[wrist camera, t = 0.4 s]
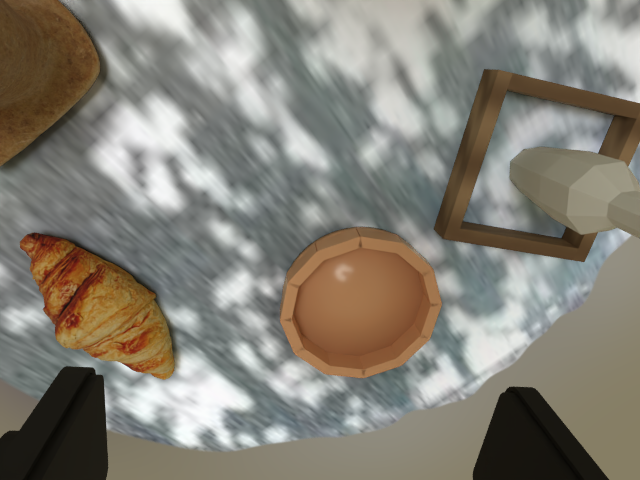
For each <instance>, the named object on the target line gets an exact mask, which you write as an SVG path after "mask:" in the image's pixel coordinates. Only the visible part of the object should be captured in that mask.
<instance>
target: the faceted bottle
mask: <svg viewBox="0 0 640 480" xmlns="http://www.w3.org/2000/svg"><path fill="white" fill-rule="evenodd" d="M510 180H511V181H512V182H513V183H514V184H515V186H516V187H517V188H518V189H519V190H520V191H521V192H522V193H523V194H524V195H526V196H527V197H528V198H529V199H530V200H532V201H533V202H534V203H535V204H536V205H537V206H539V207H540V208H541V209H542V210H543V211H545V212H546V213H547V214H548V215H549V216H550V217H552V218H553V219H554V220H556V221H558V222H560V223H562V224H563V225H565V226H567V227H569V228H570V229H572V230H574V231H576V232H577V233H579V234H581V235H582V234H589V233H596V232H603V231H609V230H612V229H615V228H619V229H621V230H623V231H625V232H627V233H629V234H631V235H633V236H636V237H638V238H640V188H639V183H638V181H637V179H636V178H635V176H634V175H633V174H632V172H631V171H630V169H629V168H628V166H627V165H626V163H625V162H624V161H621V160H618V159H614V158H611V157H607V156H604V155H600V154H597V153H593V152H589V151H578V150H568V149H558V148H548V147H536V148H529V149H524V150H523V151H522V152H520V153H519V154H518V155H517V156H516V157H515V158H514V159H513V160H512V161H510Z"/></svg>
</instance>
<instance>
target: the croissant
mask: <svg viewBox="0 0 640 480" xmlns="http://www.w3.org/2000/svg"><path fill="white" fill-rule="evenodd" d="M20 248H21V249H22V250H24V251H25V252H26V253H27V255H28V256H29V257H30V258H31V259H32V261H31V267H30V271H31V272H32V274H33V279H35V281H36V283H37V285H38V286H39V291H40V292H41V293H42V294H43V296H44V303H45V307H44V308H43V310H44V312H45V314H46V315H47V316H48V317H49V318H50V319H51V320H52V323H53V324H55V326H56V327H55V335H56V339H57V341H58V342H59V343H60V344H61V345H62V346H63V347H65V348H68V347H70V348H72V349H81V348H83V349H84V351H86V352H87V353H89V354H90V355H91V356H92V357H95V358H99V359H100V360H106V361H118V362H121V363H123V364H124V365H126V366H127V367H129V368H130V369H132V370H134V371H136V372H142V373H151V374H152V375H153V376H154V377H157V378H160V379H164V380H165V379H168V378H169V377H170V376H171V375H172V374H173V371H174V366H175V363H174V357H173V352H172V341H171V337H170V335H169V329H168V327H167V323H166V320H165V318H164V316H163V315H162V313H161V311H160V309H159V307H158V305H157V303H156V302H155V301H154V299H155V298H156V294H155V293H153V292H151V291H149V290H148V289H147V288H145V287H144V286H143V285H141V284H139V283H137V282H136V281H135V280H134V278H133V277H132V275H130V274H129V273H127V272H126V271H125V270H123V269H121V268H120V267H118V266H116V265H115V264H113V263H111V262H108V261H105V260H103V259H101V258H100V257H98V256H96V255H94V254H92V253H89V252H87V251H85V250H84V249H82V248H79V247H76V246H75V245H74V244H73V243H71V242H69V241H67V240H65V239H61V238H57V237H53V236H47V235H43V234H39V233H31V234H28V235H26V236H25V237H24V238H23V239H22V240H21V242H20Z"/></svg>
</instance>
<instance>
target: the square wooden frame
mask: <svg viewBox="0 0 640 480" xmlns="http://www.w3.org/2000/svg"><path fill="white" fill-rule="evenodd" d="M507 91H511V92H515V93H520V94H524V95H528V96H533V97H537V98H541V99H546V100H550V101H554V102H559V103H563V104H567V105H572V106H576V107H580V108H585V109H589V110H593V111H598V112H602V113H606V114H611V115H615V116H614V118H613V121H612V123H611V125H610V128H609V130H608V132H607V134H606V137H605V139H604V141H603V144H602V146H601V148H600V151H599V153H598V154H600V155H604V156H607V157H611V158H614V159H618V160H621V161H624V162H625V163H626V165H627V166H629V164H630V162H631V159H632V157H633V155H634V153H635V151H636V148H637V146H638V144H639V142H640V103H636V102H632V101H627V100H623V99H619V98H615V97H611V96H606V95H602V94H598V93H594V92H589V91H585V90H581V89H577V88H573V87H568V86H564V85H560V84H556V83H552V82H547V81H543V80H539V79H535V78H531V77H526V76H522V75H518V74H514V73H510V72H505V71H501V70H488V69H484V72H483V75H482V78H481V81H480V85H479V88H478V91H477V94H476V97H475V100H474V103H473V107H472V110H471V113H470V116H469V119H468V122H467V126H466V129H465V132H464V135H463V138H462V141H461V144H460V148H459V151H458V154H457V157H456V160H455V163H454V167H453V170H452V173H451V176H450V179H449V182H448V185H447V189H446V192H445V195H444V198H443V201H442V204H441V208H440V211H439V214H438V217H437V220H436V223H435V226H434V230H435V231H436V232H437V233H438V234H439V235H440V236H441V237H442V238H443V239H447V240H453V241H459V242H465V243H471V244H477V245H484V246H490V247H496V248H502V249H508V250H514V251H520V252H526V253H532V254H538V255H544V256H551V257H557V258H563V259H569V260H575V261H581V262H585V259H586V257H587V255H588V253H589V251H590V248H591V246H592V244H593V242H594V240H595V238H596V235H597V233H598V232H596V233H589V234H582V235H581V234H579V233H577V232H576V231H574V230H572V229H570V228H569V227H566V230H565V232H564V234H563V237H562V238H556V237H550V236H545V235H539V234H533V233H527V232H521V231H516V230H510V229H504V228H498V227H493V226H487V225H481V224H475V223H469V222H464V221H463V218H464V215H465V212H466V209H467V207H468V204H469V201H470V198H471V195H472V192H473V189H474V186H475V183H476V180H477V177H478V174H479V171H480V168H481V165H482V162H483V159H484V156H485V154H486V151H487V148H488V145H489V142H490V139H491V136H492V133H493V130H494V127H495V124H496V121H497V118H498V115H499V112H500V109H501V106H502V103H503V100H504V98H505V95H506V92H507Z"/></svg>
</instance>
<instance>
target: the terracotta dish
mask: <svg viewBox="0 0 640 480" xmlns="http://www.w3.org/2000/svg"><path fill="white" fill-rule="evenodd" d="M441 306H442V302H441V298H440V294H439V290H438V286H437V282H436V278H435V274H434V271H433V268H432V267H431V266H430V264H429V263H428V262H427V260H426V259H425V258H424V257H423V256H421V255H420V254H419V253H418V252H417V251H416V250H415V249H414V248H413V247H412V246H411V245H410V244H409V243H408V242H406V241H405V240H404V239H402V238H401V237H399V236H398V235H397V234H393V233H391V232H388V231H385V230H382V229H378V228H371V227H352V228H345V229H341V230H338V231H334V232H332V233H329V234H327V235H324V236H323V237H321V238H319V239H317V240H316V241H314V242H313V243H312V244H310V245H309V246H307V247H306V248H305V249H304V250H303V251H302V252H301V253H300V254H299V256H298V257H297V258H296V259H295V261H294V262H293V264H292V265H291V267H290V269H289V270H288V272H287V274H286V278H285V281H284V285H283V291H282V299H281V305H280V322H281V324H282V327H283V329H284V331H285V333H286V336H287V338H288V340H289V343H290V345H291V347H292V349H293V352H294V353H295V355H297V356H298V357H300V358H301V359H303V360H304V361H306V362H307V363H309V364H310V365H312V366H313V367H315V368H316V369H318V370H319V371H321V372H322V373H324V374H328V375H337V376H347V377H356V378H363V377H364V378H366V377H369V376H372V375H375V374H378V373H381V372H384V371H387V370H390V369H393V368H396V367H399V366H401V365H403V364H404V363H405V362H406V361H407V360H408V359H409V358H410V357H411V356H412V355H413V354H414V353H416V352H417V351H418V350H419V349H420V348H421V347H422V346H423V345H424V344H425V343H426V342H427V341H428V340H430V337H431V334H432V332H433V329H434V326H435V323H436V320H437V317H438V314H439V311H440V308H441Z"/></svg>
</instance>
